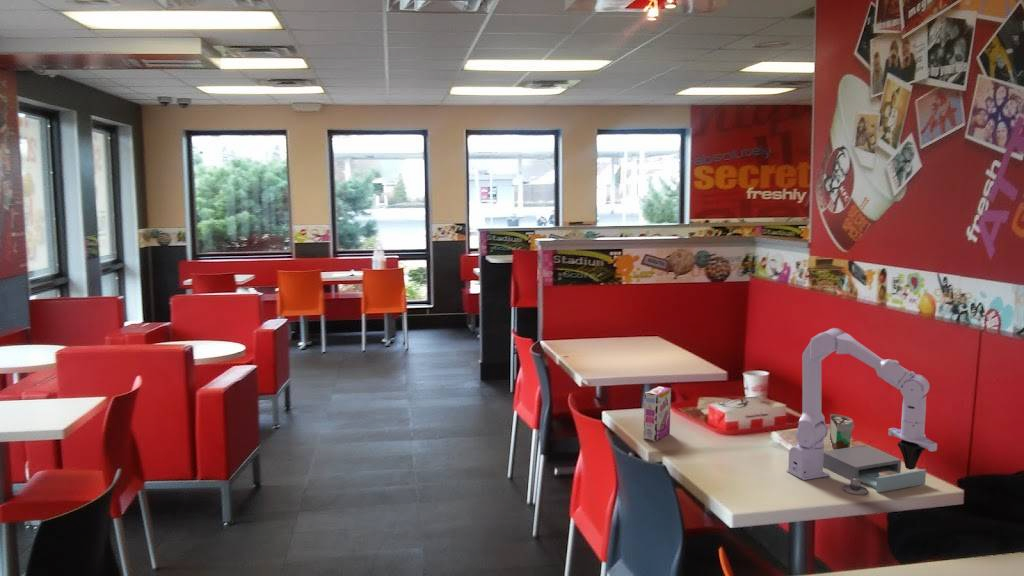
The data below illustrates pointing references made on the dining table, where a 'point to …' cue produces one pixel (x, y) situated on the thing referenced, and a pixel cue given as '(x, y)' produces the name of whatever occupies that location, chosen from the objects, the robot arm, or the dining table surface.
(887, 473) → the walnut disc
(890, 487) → the drawer
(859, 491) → the disc stand
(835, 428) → the food container
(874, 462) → the cabinet
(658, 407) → the candy bar box
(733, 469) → the dining table surface
